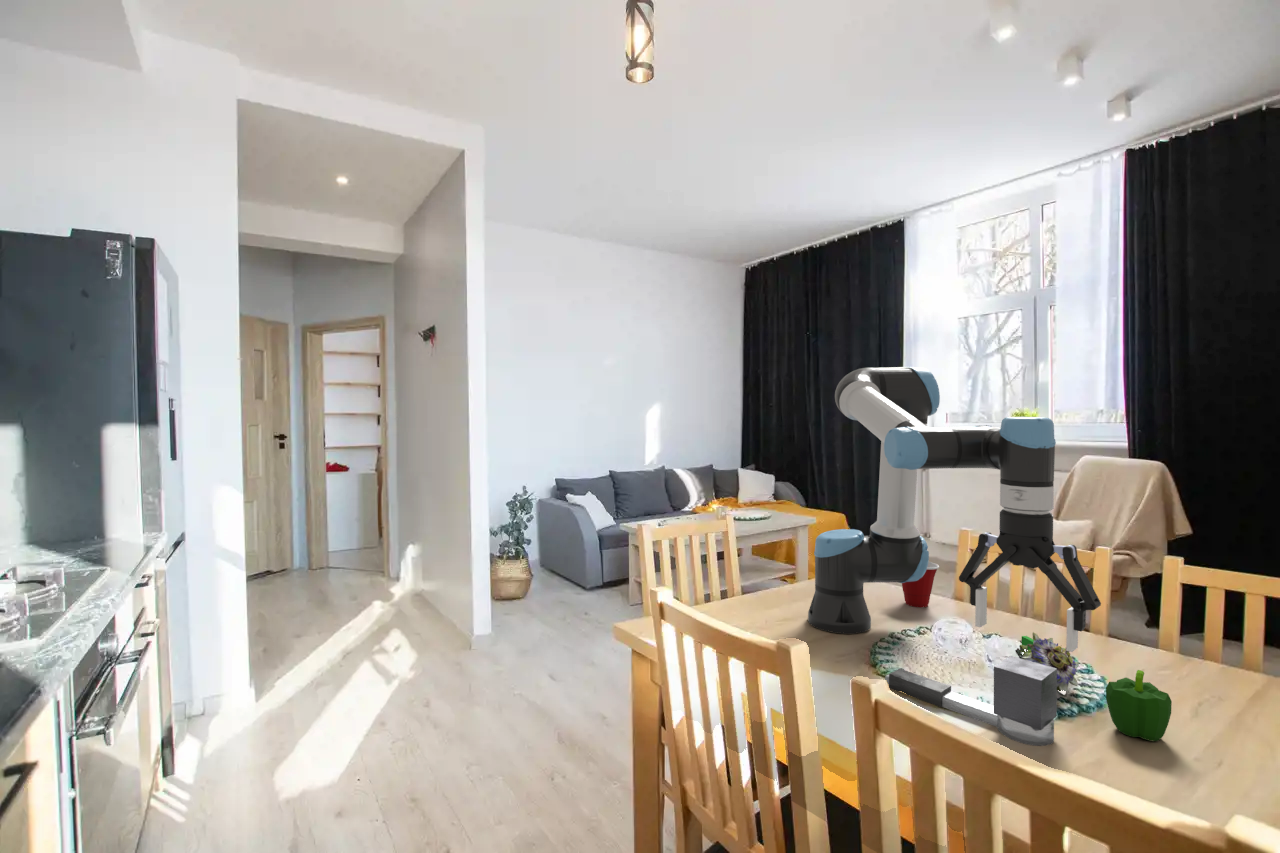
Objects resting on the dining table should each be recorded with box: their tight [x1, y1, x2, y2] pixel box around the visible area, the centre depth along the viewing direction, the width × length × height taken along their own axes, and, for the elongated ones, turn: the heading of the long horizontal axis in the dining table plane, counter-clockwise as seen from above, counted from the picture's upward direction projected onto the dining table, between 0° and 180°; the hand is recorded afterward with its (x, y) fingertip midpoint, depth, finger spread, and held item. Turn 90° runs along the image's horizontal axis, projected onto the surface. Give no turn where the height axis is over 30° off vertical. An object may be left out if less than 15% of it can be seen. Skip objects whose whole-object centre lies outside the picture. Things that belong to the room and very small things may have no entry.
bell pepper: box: [1105, 669, 1172, 742], centre depth 101 cm, size 8×8×10 cm
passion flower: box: [1014, 631, 1080, 692], centre depth 119 cm, size 11×11×12 cm
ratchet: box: [884, 668, 1055, 747], centre depth 110 cm, size 28×8×7 cm, turn 38°
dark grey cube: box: [993, 655, 1058, 730], centre depth 102 cm, size 7×7×8 cm
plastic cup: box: [901, 561, 940, 608], centre depth 169 cm, size 11×11×12 cm
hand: (1024, 636), depth 102 cm, fingers open, 13 cm apart
